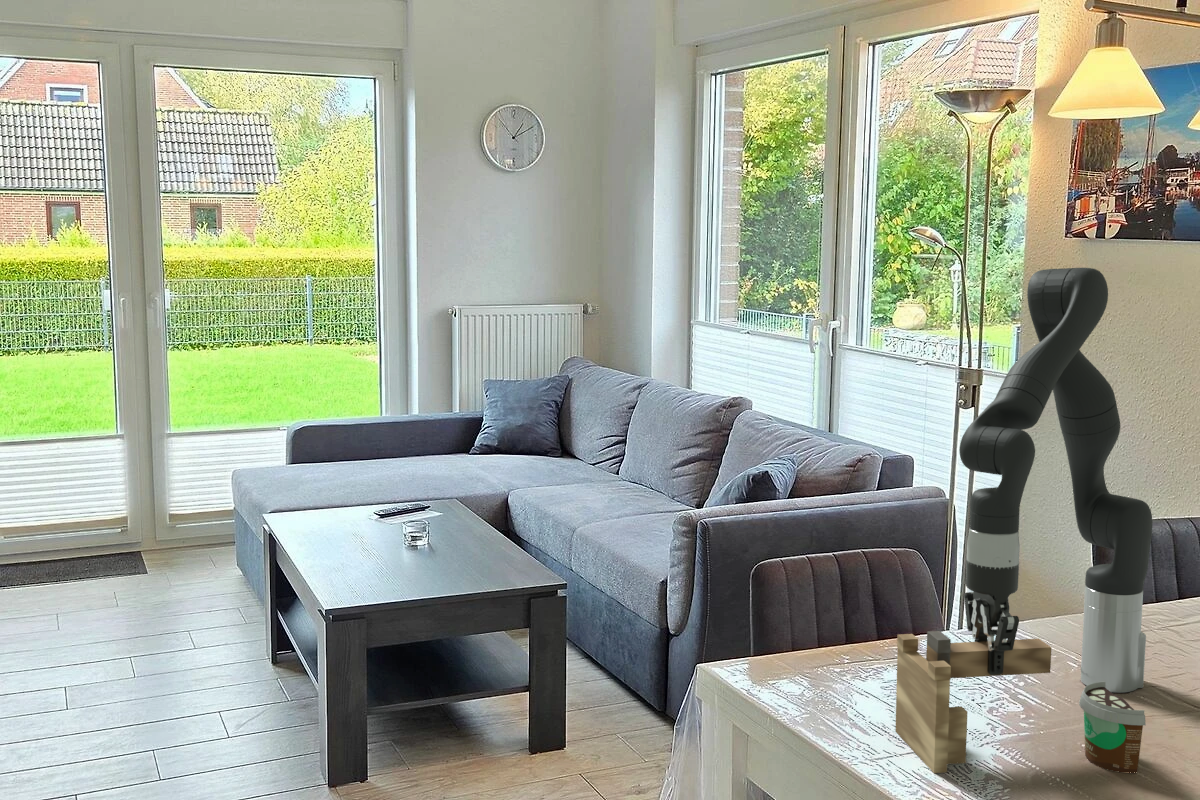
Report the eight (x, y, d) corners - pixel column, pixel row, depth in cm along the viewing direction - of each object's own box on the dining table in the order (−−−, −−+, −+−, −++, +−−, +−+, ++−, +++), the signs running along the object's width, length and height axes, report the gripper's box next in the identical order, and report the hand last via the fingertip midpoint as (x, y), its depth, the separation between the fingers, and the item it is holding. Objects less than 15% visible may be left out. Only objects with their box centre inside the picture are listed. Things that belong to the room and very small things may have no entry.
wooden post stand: (931, 728, 191) (934, 631, 189) (973, 770, 176) (976, 665, 174) (894, 731, 190) (896, 633, 188) (932, 773, 176) (935, 668, 173)
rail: (1037, 663, 186) (1039, 626, 185) (1050, 672, 182) (1052, 634, 181) (925, 669, 184) (927, 631, 183) (936, 678, 180) (937, 640, 179)
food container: (1061, 743, 185) (1064, 681, 184) (1100, 742, 186) (1103, 679, 184) (1101, 779, 173) (1105, 713, 172) (1142, 777, 174) (1146, 711, 172)
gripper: (1039, 570, 174) (1034, 684, 176) (994, 545, 188) (990, 651, 190) (990, 572, 173) (985, 687, 175) (949, 547, 187) (945, 653, 189)
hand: (988, 668), depth 183 cm, fingers closed on rail, 4 cm apart
